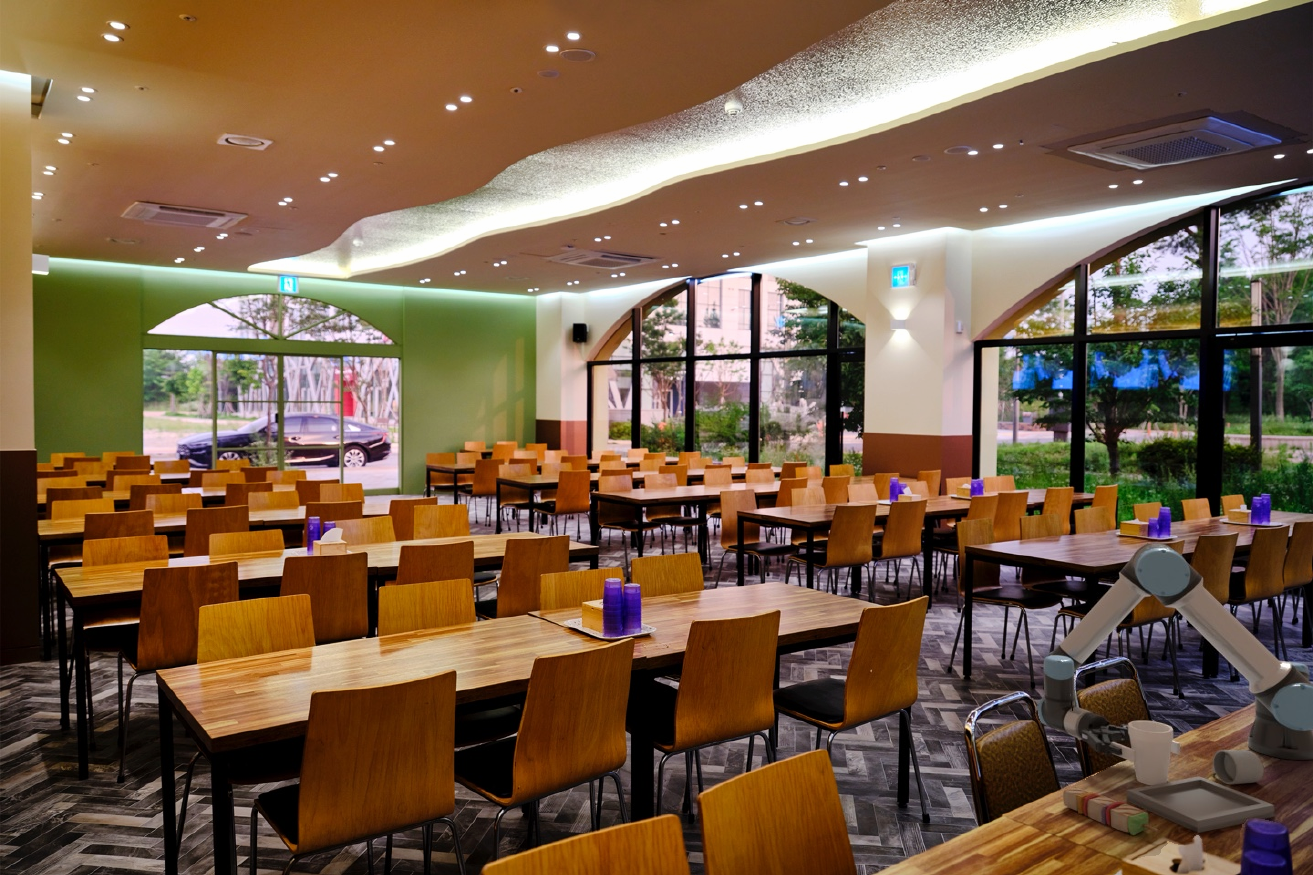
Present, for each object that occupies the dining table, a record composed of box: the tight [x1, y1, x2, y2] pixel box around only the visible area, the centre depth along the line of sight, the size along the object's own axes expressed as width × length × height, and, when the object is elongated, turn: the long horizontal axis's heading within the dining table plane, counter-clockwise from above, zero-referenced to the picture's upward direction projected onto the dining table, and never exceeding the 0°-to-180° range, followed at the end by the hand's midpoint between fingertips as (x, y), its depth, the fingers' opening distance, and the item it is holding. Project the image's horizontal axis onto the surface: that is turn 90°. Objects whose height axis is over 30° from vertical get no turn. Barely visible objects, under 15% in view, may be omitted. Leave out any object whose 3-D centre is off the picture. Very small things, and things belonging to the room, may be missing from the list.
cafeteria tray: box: [1126, 775, 1275, 834], centre depth 200 cm, size 22×18×2 cm
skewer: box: [1062, 786, 1159, 836], centre depth 194 cm, size 21×6×5 cm, turn 27°
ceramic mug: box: [1211, 749, 1265, 785], centre depth 216 cm, size 11×8×8 cm
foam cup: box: [1127, 720, 1174, 786], centre depth 216 cm, size 10×9×13 cm
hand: (1157, 752), depth 214 cm, fingers open, 13 cm apart
